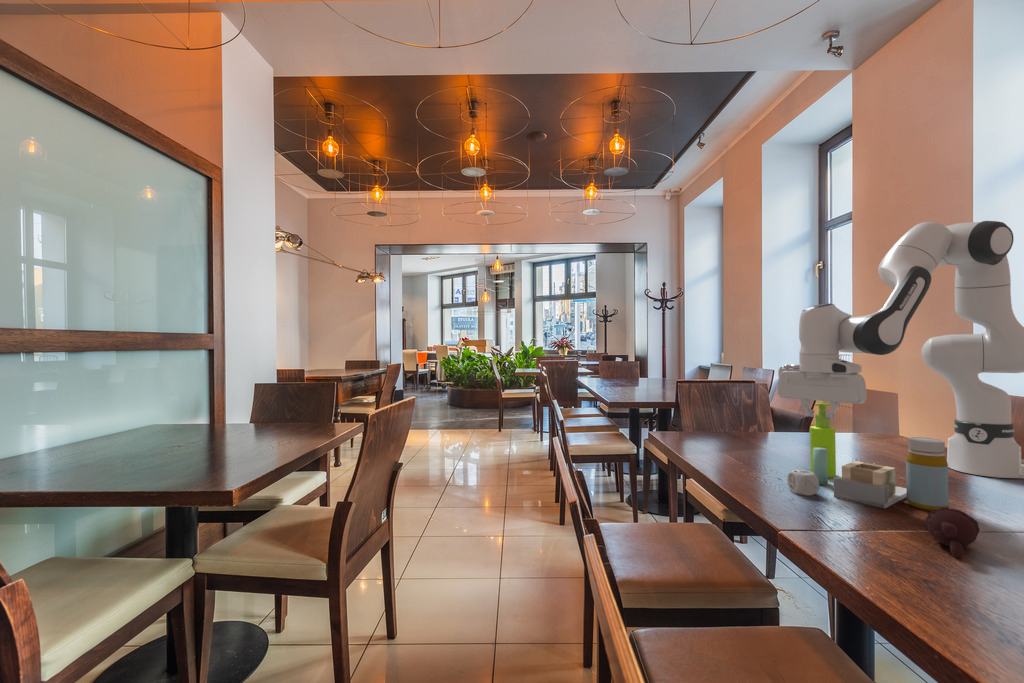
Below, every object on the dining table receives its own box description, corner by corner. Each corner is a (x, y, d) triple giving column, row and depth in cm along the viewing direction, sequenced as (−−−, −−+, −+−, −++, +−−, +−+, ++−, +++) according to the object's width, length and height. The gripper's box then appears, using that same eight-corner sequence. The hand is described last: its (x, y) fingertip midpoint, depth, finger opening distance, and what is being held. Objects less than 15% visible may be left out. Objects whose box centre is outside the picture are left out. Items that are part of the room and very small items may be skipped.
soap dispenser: (844, 477, 129) (843, 404, 130) (819, 477, 129) (818, 404, 130) (830, 471, 135) (829, 401, 135) (806, 471, 135) (805, 401, 136)
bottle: (956, 513, 101) (955, 443, 102) (919, 511, 103) (918, 442, 103) (934, 502, 108) (933, 437, 108) (899, 500, 110) (898, 436, 110)
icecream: (920, 495, 94) (917, 523, 83) (969, 493, 89) (973, 523, 78) (932, 530, 93) (931, 563, 82) (983, 530, 88) (989, 565, 77)
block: (855, 485, 118) (855, 461, 118) (895, 493, 111) (895, 467, 111) (842, 491, 113) (841, 466, 113) (882, 499, 107) (882, 473, 107)
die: (819, 495, 114) (819, 475, 114) (798, 495, 114) (798, 475, 114) (807, 489, 119) (807, 469, 119) (787, 489, 119) (786, 469, 119)
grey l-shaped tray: (864, 483, 123) (863, 466, 123) (912, 493, 115) (912, 475, 115) (833, 497, 113) (833, 478, 113) (884, 508, 105) (884, 488, 105)
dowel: (816, 480, 126) (816, 446, 127) (830, 483, 124) (829, 449, 124) (811, 482, 125) (810, 448, 125) (824, 485, 122) (824, 450, 122)
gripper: (772, 364, 131) (773, 414, 131) (858, 366, 114) (859, 424, 114) (784, 363, 135) (784, 412, 135) (869, 366, 118) (869, 421, 118)
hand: (819, 417), depth 124 cm, fingers open, 3 cm apart
